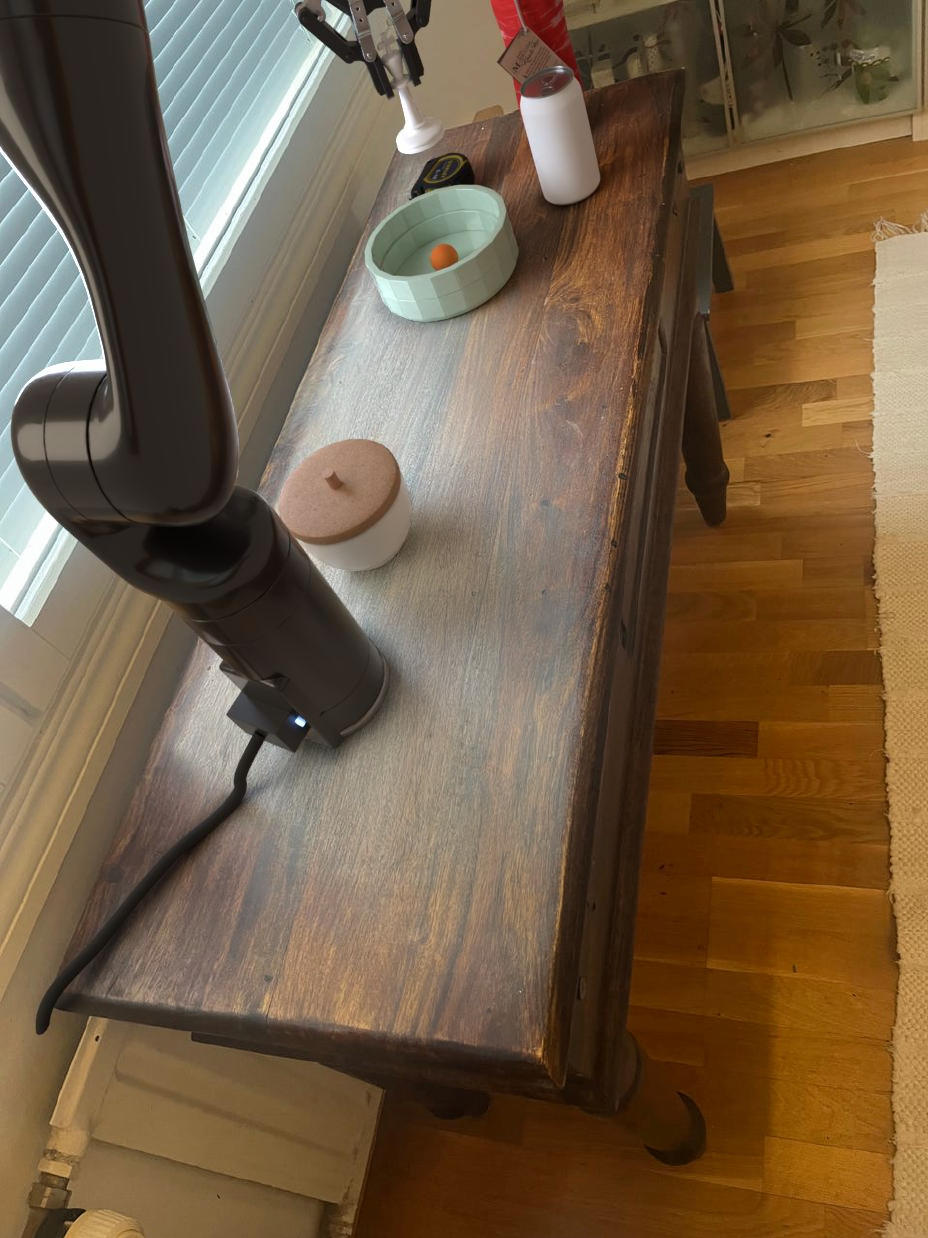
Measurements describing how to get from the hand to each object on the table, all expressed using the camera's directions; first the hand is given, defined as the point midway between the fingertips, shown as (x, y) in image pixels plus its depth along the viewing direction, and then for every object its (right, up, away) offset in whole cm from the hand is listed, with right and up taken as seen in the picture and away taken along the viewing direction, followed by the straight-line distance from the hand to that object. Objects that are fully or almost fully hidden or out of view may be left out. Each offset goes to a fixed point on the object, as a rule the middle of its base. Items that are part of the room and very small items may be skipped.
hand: (403, 87), depth 87 cm
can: (+18, -2, +16) cm, 24 cm away
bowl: (+4, -12, +14) cm, 19 cm away
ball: (+4, -11, +13) cm, 17 cm away
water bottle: (+17, +6, +23) cm, 29 cm away
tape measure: (+3, 0, +23) cm, 23 cm away
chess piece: (+2, -3, +4) cm, 5 cm away
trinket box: (-2, -43, -4) cm, 43 cm away
